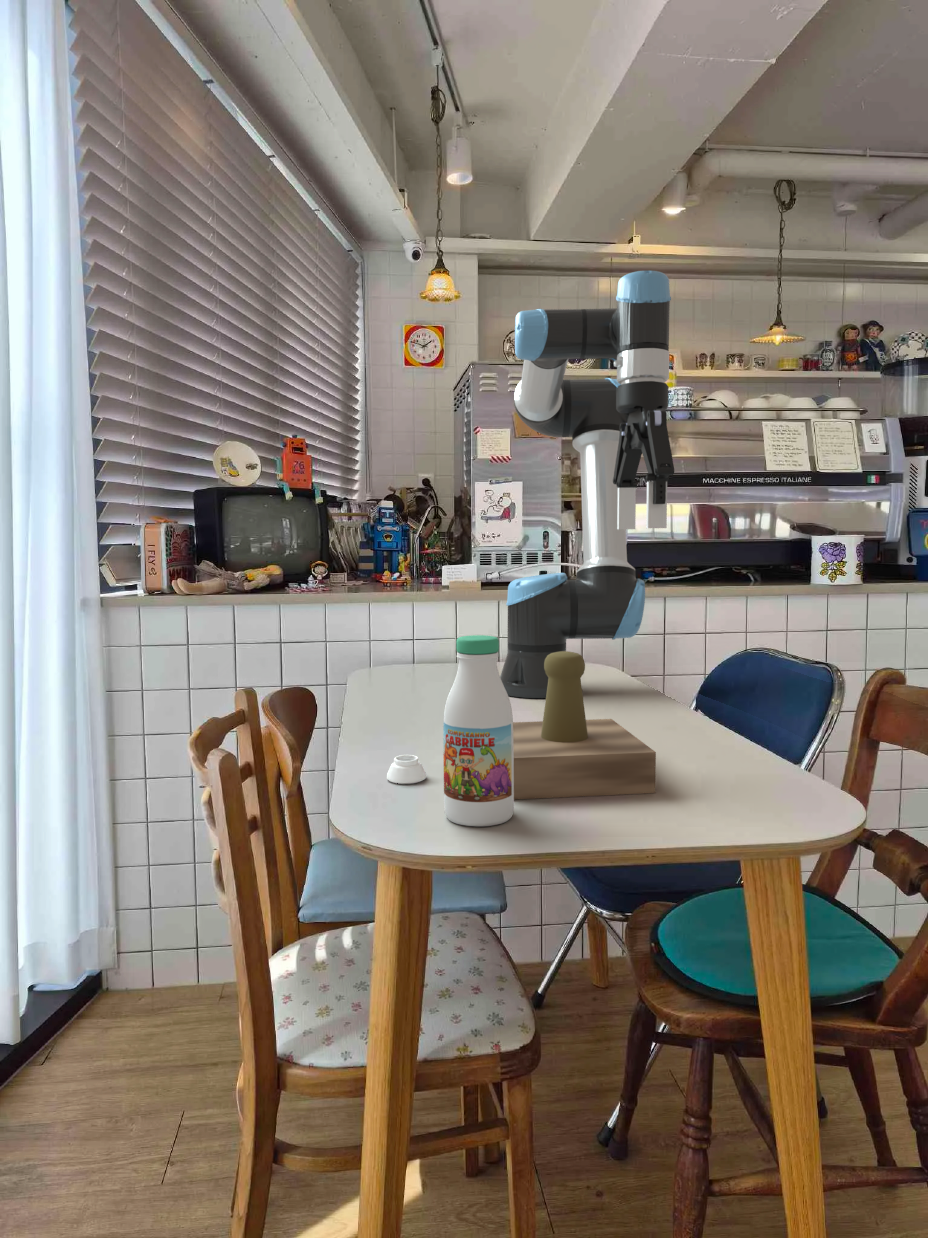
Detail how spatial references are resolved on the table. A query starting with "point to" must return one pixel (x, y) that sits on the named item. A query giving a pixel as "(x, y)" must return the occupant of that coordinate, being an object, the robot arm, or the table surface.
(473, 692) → the milk bottle
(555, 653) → the olive pepper mill
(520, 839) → the table surface
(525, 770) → the walnut riser
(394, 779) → the white jar
